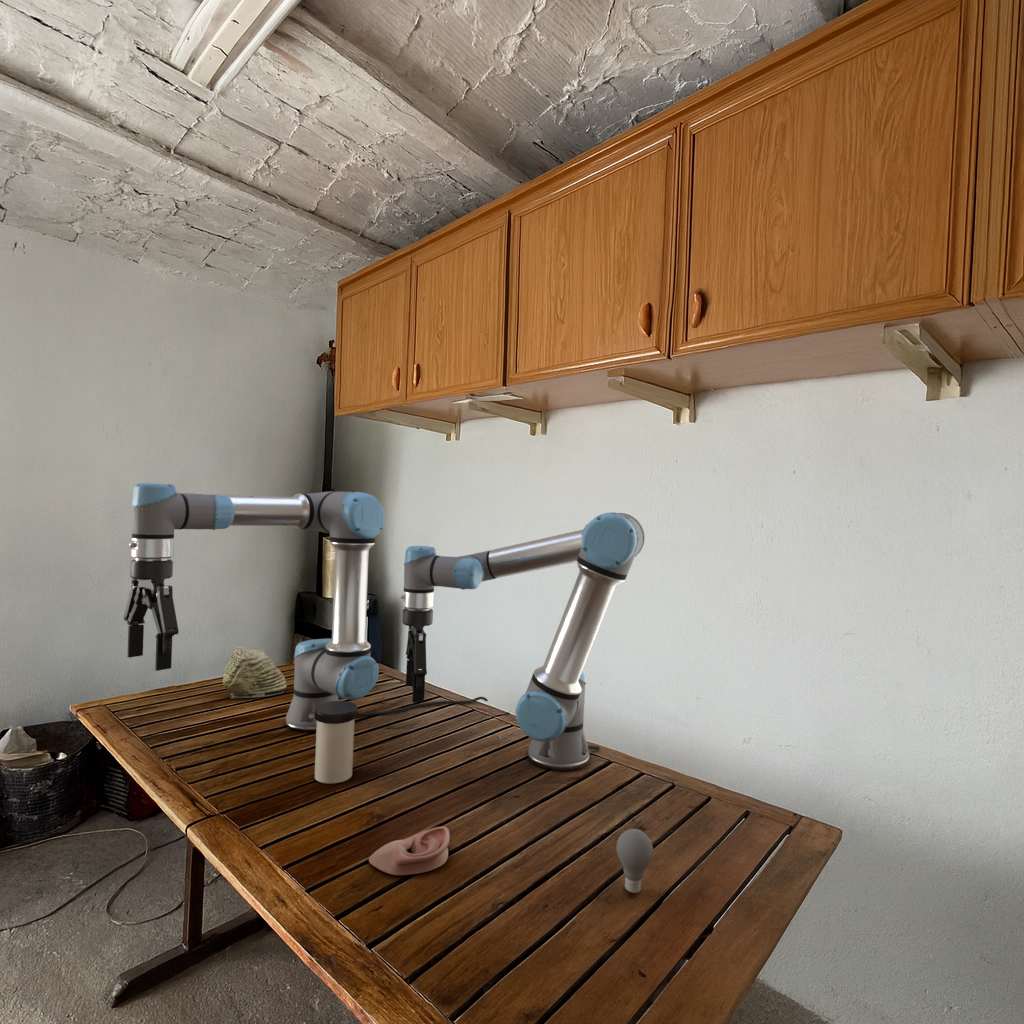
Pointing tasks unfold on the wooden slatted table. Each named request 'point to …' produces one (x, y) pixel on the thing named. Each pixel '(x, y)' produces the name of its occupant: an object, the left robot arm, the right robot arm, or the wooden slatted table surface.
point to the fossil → (252, 674)
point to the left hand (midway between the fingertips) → (148, 662)
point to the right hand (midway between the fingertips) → (414, 693)
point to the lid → (335, 712)
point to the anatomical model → (413, 853)
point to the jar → (334, 752)
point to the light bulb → (634, 857)
